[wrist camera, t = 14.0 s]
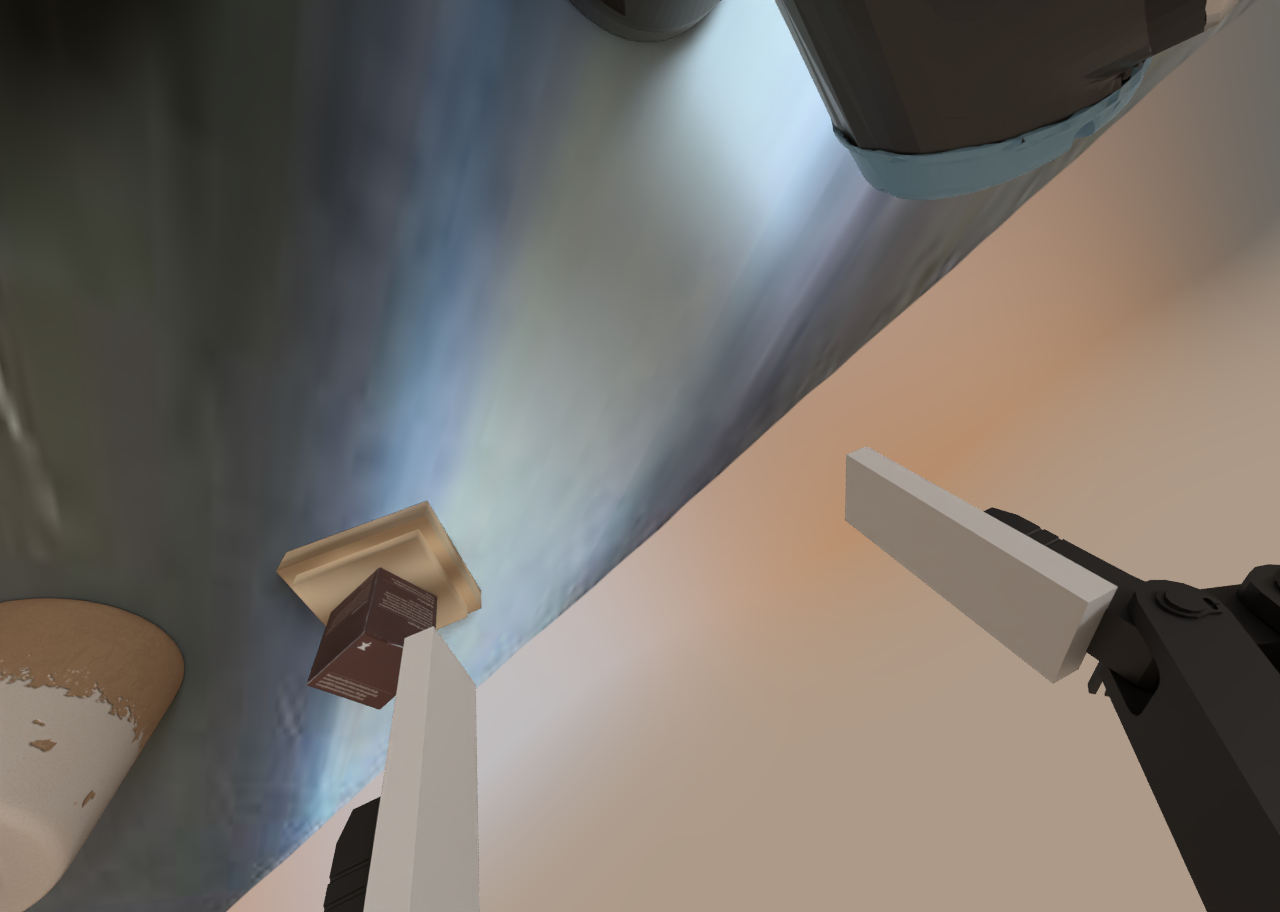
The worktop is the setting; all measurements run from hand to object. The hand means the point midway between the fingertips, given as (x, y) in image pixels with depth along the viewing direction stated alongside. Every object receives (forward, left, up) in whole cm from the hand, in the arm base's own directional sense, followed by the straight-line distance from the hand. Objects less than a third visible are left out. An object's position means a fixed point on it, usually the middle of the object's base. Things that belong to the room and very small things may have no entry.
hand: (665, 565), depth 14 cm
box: (+16, -20, -25) cm, 36 cm away
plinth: (+16, -20, -29) cm, 38 cm away
